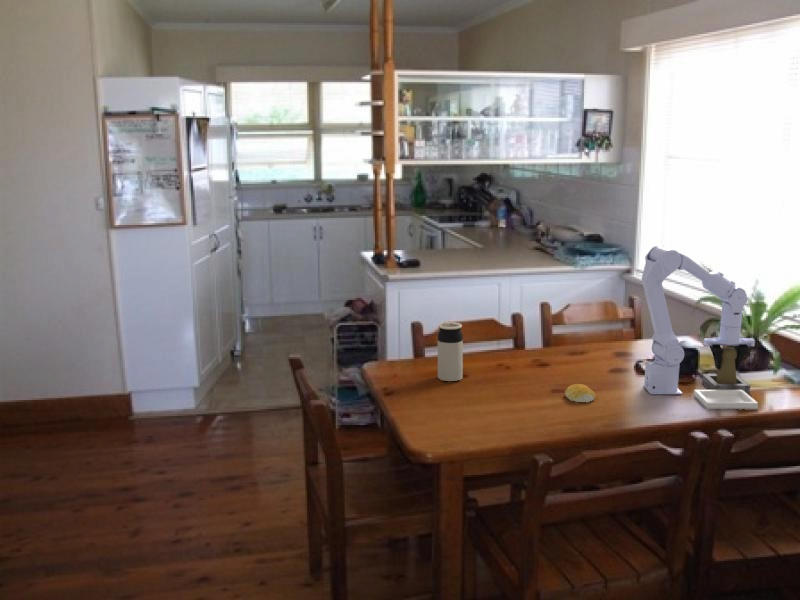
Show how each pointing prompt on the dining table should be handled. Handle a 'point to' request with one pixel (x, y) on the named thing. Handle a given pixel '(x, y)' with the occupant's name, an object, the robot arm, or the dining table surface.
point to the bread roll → (579, 393)
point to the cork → (727, 367)
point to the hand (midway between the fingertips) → (726, 368)
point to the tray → (725, 399)
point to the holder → (713, 385)
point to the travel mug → (450, 351)
